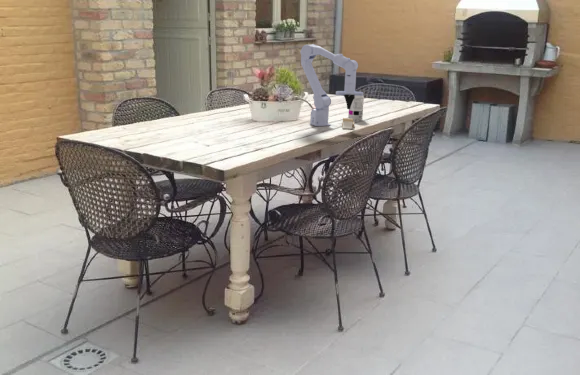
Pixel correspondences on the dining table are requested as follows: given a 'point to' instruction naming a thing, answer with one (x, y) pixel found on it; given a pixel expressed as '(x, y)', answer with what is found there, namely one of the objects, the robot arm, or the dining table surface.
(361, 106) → the supplement can
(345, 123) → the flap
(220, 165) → the dining table surface
